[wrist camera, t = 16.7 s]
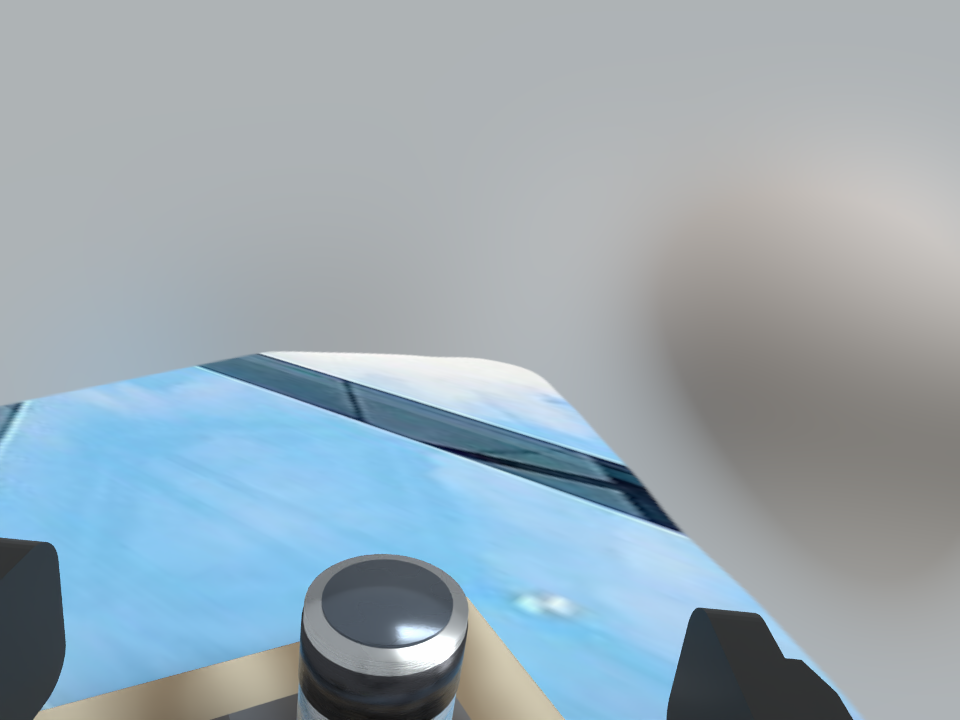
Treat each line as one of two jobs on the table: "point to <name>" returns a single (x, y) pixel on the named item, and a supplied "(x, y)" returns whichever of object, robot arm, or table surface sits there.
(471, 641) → the mount board
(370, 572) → the lens
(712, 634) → the robot arm
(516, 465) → the table surface
